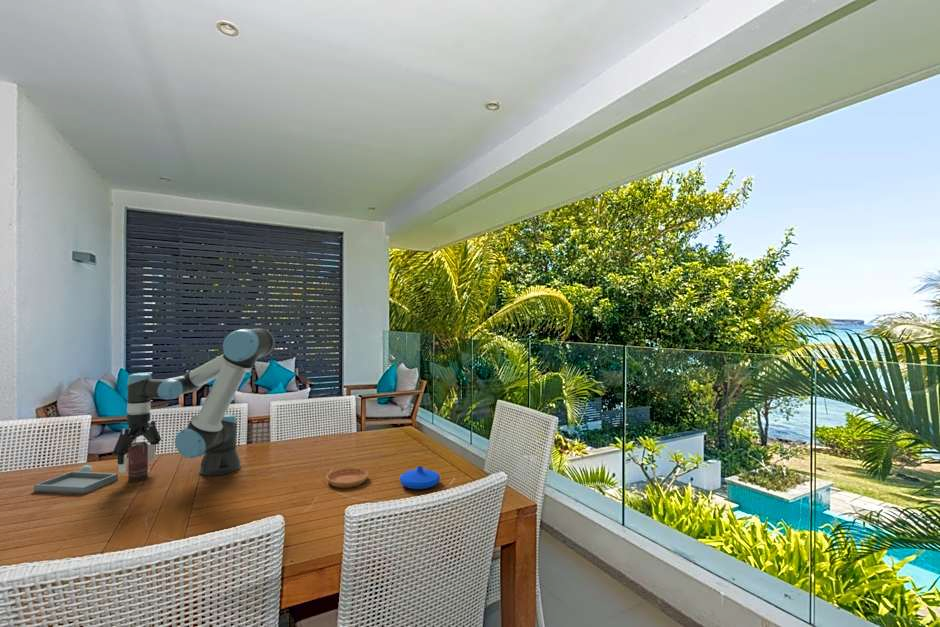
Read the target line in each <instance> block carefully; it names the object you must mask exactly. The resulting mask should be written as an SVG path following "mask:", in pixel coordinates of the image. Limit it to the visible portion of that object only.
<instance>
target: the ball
mask: <svg viewBox="0 0 940 627" xmlns="http://www.w3.org/2000/svg"><path fill="white" fill-rule="evenodd" d="M92 470H93V468H92V466H91V465H88V464H86V465H83V466H81V468H80V469H79V472H92Z"/></svg>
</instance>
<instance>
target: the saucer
mask: <svg viewBox="0 0 940 627" xmlns="http://www.w3.org/2000/svg"><path fill="white" fill-rule="evenodd" d="M367 479H369V472H368V471H367V470H365V469H362V468H355V467H346V468H339V469H335V470H332V471H331V472H329V473H327V475H326V481H327V483H328V484H330V485H331V486H332V487H335V488H338V489H339V488H340V489H349V488H354V487H358V486H361V485H362V484H363V483H364V482H365V481H366V480H367Z"/></svg>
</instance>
